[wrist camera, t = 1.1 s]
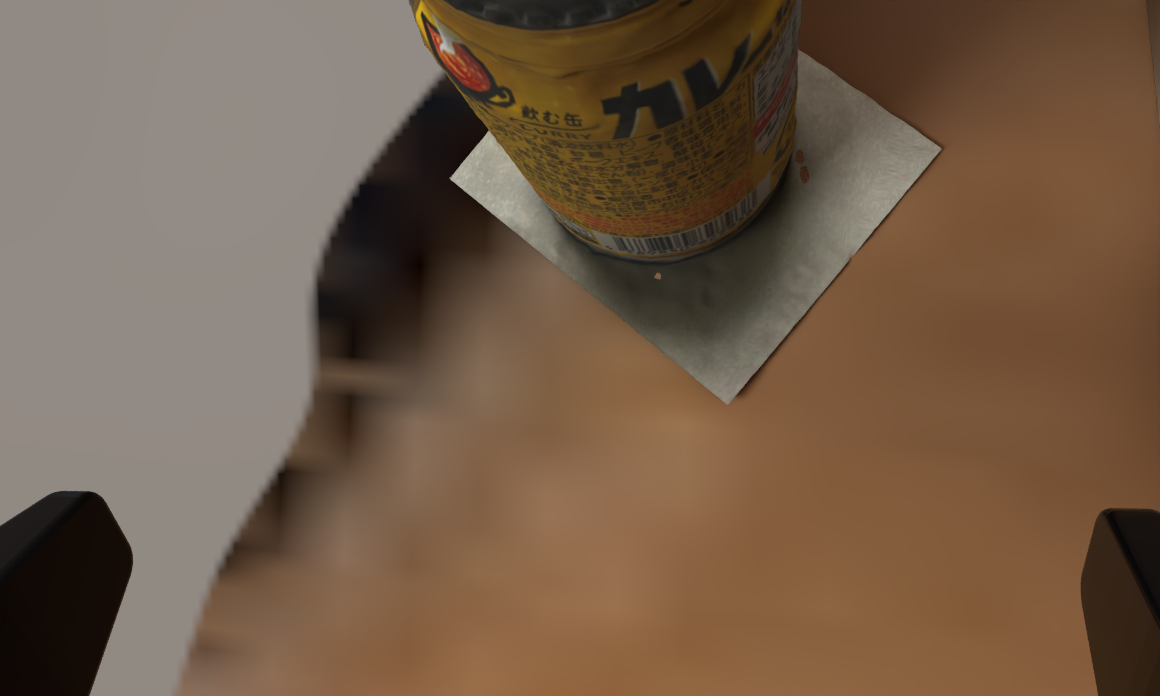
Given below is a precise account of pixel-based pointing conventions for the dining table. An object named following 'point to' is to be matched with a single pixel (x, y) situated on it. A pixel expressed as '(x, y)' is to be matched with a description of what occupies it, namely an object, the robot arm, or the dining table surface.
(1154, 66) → the grey flat square slab
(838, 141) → the condiment
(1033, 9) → the dining table surface
